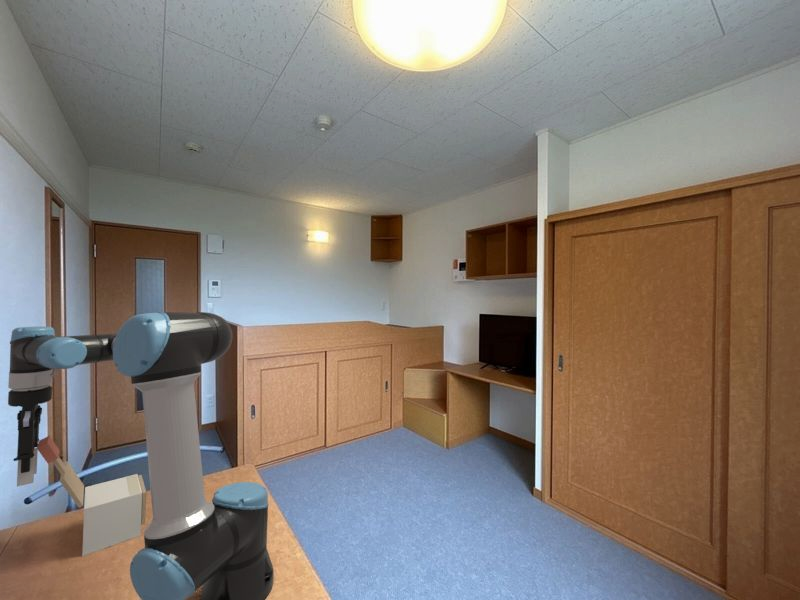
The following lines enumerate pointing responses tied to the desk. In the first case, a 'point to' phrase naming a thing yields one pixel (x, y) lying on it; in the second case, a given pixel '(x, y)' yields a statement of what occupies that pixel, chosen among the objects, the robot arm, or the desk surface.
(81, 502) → the flap
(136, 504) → the carton
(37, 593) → the desk surface
